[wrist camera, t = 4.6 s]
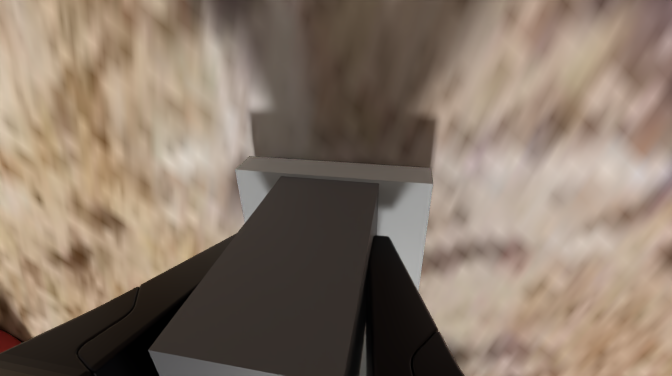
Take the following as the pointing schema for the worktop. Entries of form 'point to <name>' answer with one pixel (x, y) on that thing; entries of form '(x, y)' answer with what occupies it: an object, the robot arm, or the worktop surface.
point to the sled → (297, 270)
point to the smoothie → (7, 341)
